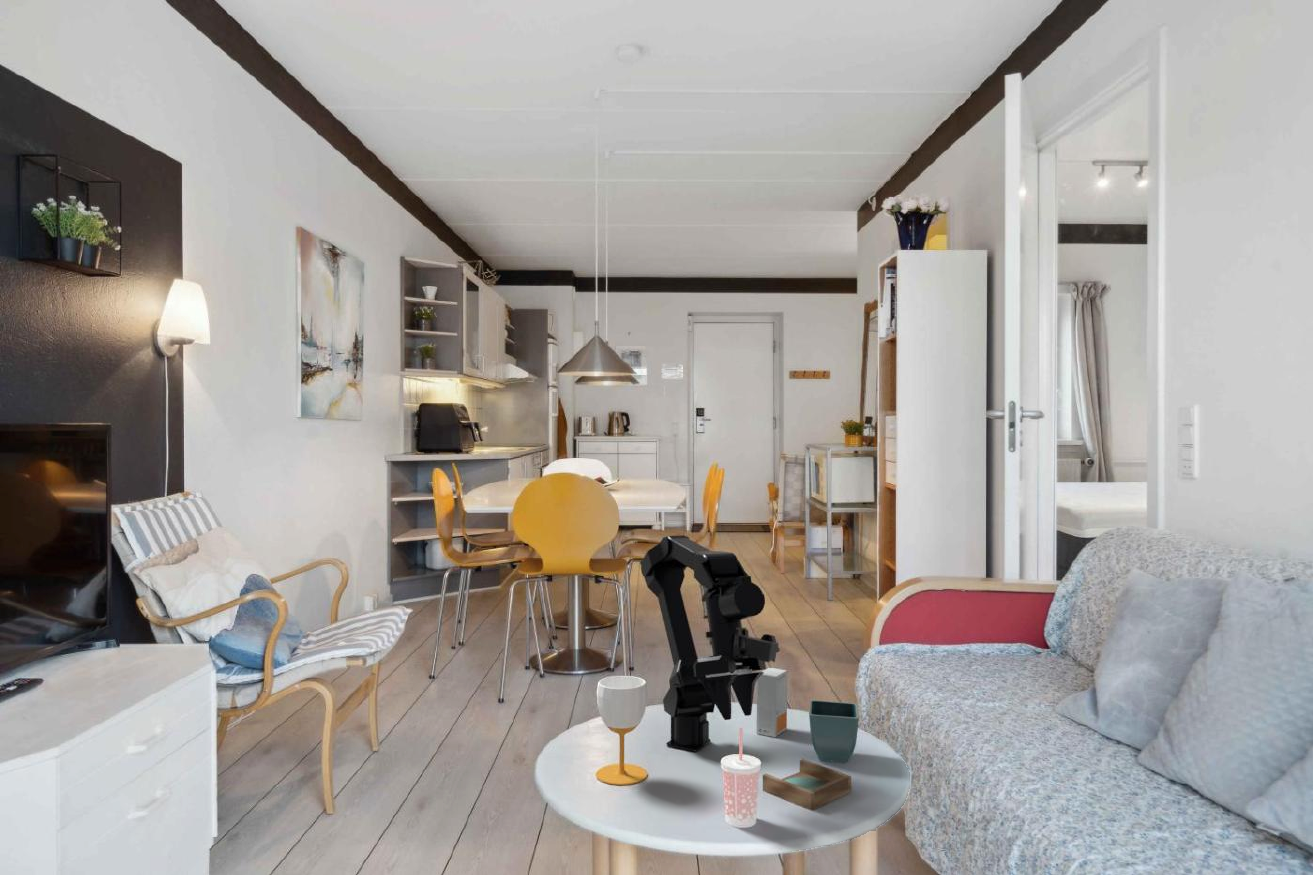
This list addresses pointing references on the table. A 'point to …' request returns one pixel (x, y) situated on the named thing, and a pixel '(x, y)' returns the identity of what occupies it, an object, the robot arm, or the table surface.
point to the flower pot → (833, 729)
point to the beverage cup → (740, 787)
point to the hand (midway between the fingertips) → (738, 717)
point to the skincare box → (772, 702)
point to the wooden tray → (809, 785)
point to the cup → (622, 722)
